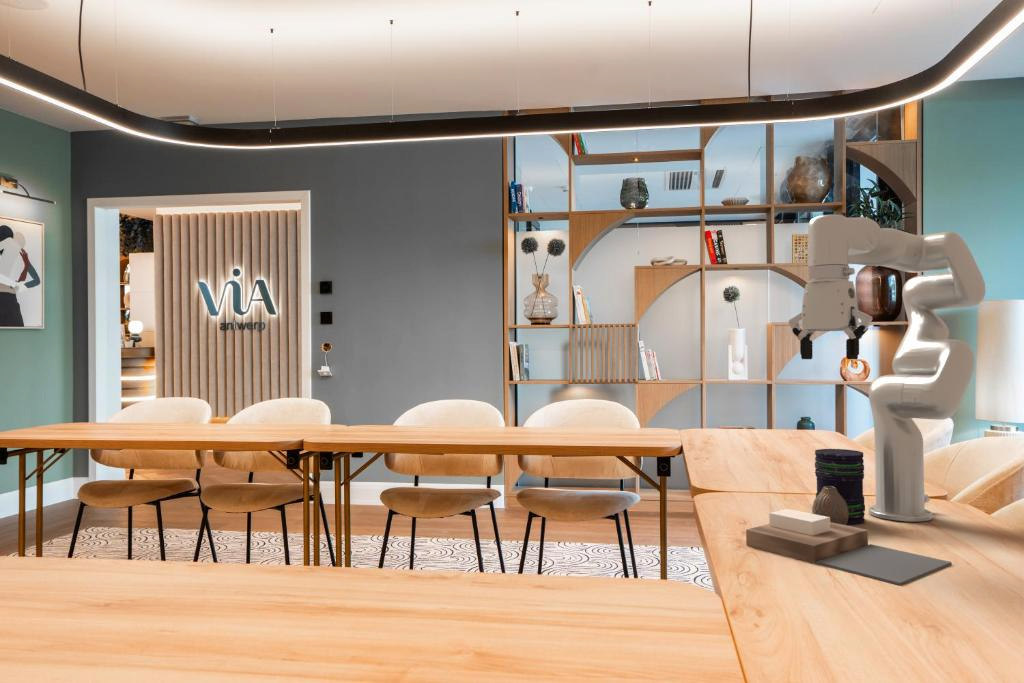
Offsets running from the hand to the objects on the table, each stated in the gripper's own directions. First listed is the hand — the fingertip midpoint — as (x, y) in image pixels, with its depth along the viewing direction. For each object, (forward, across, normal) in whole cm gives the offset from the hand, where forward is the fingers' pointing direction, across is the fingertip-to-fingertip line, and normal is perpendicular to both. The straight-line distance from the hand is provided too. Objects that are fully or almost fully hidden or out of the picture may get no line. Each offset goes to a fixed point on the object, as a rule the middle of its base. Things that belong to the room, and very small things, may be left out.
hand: (828, 359), depth 141 cm
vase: (+36, +2, -3) cm, 36 cm away
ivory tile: (+33, 0, +12) cm, 35 cm away
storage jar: (+36, +5, -12) cm, 38 cm away
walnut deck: (+36, -2, +12) cm, 38 cm away
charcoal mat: (+36, -16, +12) cm, 41 cm away
